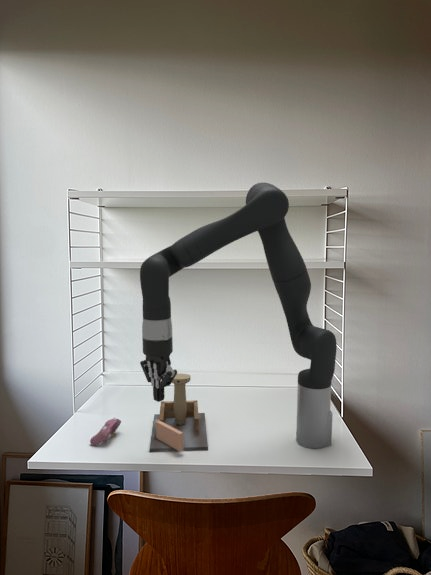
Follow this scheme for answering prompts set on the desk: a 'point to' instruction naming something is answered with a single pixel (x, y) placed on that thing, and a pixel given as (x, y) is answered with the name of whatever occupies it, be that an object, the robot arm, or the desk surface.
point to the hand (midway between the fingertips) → (159, 400)
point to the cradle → (182, 428)
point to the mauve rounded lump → (106, 431)
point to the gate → (168, 435)
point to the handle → (180, 398)
